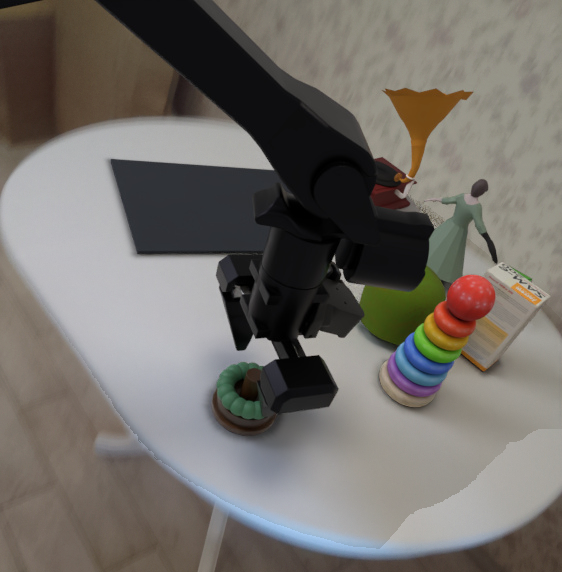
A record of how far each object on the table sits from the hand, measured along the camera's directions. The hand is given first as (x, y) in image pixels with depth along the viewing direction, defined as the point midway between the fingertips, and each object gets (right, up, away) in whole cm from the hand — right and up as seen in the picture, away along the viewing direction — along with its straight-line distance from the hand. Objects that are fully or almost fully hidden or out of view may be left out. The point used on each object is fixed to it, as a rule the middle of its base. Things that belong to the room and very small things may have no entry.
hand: (253, 381), depth 55 cm
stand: (-1, -3, +4) cm, 5 cm away
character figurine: (+29, +17, +32) cm, 46 cm away
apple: (+19, +8, +21) cm, 29 cm away
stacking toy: (+20, -1, +13) cm, 24 cm away
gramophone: (+19, +32, +42) cm, 56 cm away
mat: (-7, +28, +29) cm, 41 cm away
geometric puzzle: (+40, +13, +33) cm, 53 cm away
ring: (-1, -2, +2) cm, 3 cm away
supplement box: (+31, +4, +22) cm, 39 cm away
